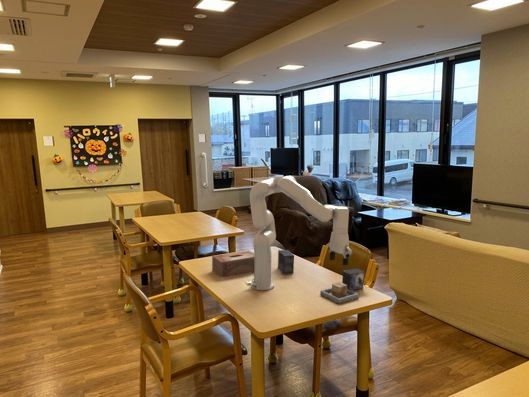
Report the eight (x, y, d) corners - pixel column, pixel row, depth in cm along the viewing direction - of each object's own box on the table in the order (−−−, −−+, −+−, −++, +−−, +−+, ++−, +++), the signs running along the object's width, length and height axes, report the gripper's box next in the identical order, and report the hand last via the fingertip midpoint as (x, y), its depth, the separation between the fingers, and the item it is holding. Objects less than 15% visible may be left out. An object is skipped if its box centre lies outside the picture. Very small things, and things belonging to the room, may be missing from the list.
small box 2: (348, 292, 208) (349, 274, 207) (341, 288, 214) (342, 270, 213) (363, 289, 213) (364, 271, 212) (356, 285, 219) (356, 267, 217)
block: (339, 298, 199) (339, 287, 198) (331, 294, 204) (332, 283, 203) (346, 296, 202) (347, 285, 201) (339, 292, 207) (339, 282, 206)
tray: (338, 304, 193) (339, 299, 193) (320, 294, 205) (320, 290, 205) (358, 298, 201) (358, 293, 200) (339, 289, 212) (339, 285, 212)
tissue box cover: (221, 278, 229) (221, 262, 227) (212, 271, 241) (212, 255, 240) (259, 271, 242) (259, 256, 240) (248, 265, 254) (248, 250, 253)
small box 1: (294, 274, 237) (294, 255, 235) (283, 274, 236) (283, 255, 234) (287, 267, 250) (288, 249, 248) (277, 268, 248) (277, 250, 246)
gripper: (323, 227, 203) (322, 259, 206) (347, 234, 189) (345, 268, 192) (334, 226, 207) (332, 257, 210) (357, 233, 193) (355, 266, 196)
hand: (338, 262), depth 201 cm, fingers open, 9 cm apart
